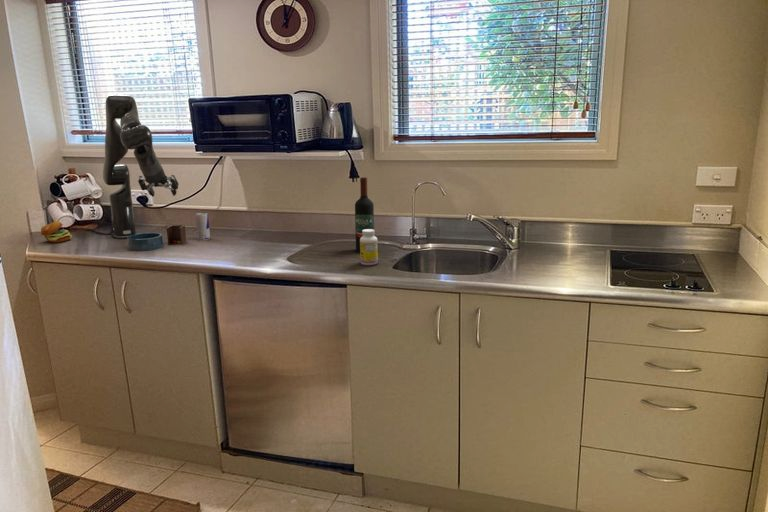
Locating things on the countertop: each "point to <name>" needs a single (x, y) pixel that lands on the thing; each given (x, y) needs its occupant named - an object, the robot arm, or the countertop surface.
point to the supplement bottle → (368, 248)
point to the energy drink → (202, 226)
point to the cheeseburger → (55, 232)
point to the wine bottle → (363, 213)
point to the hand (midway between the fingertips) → (163, 194)
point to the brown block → (176, 234)
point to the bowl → (145, 241)
